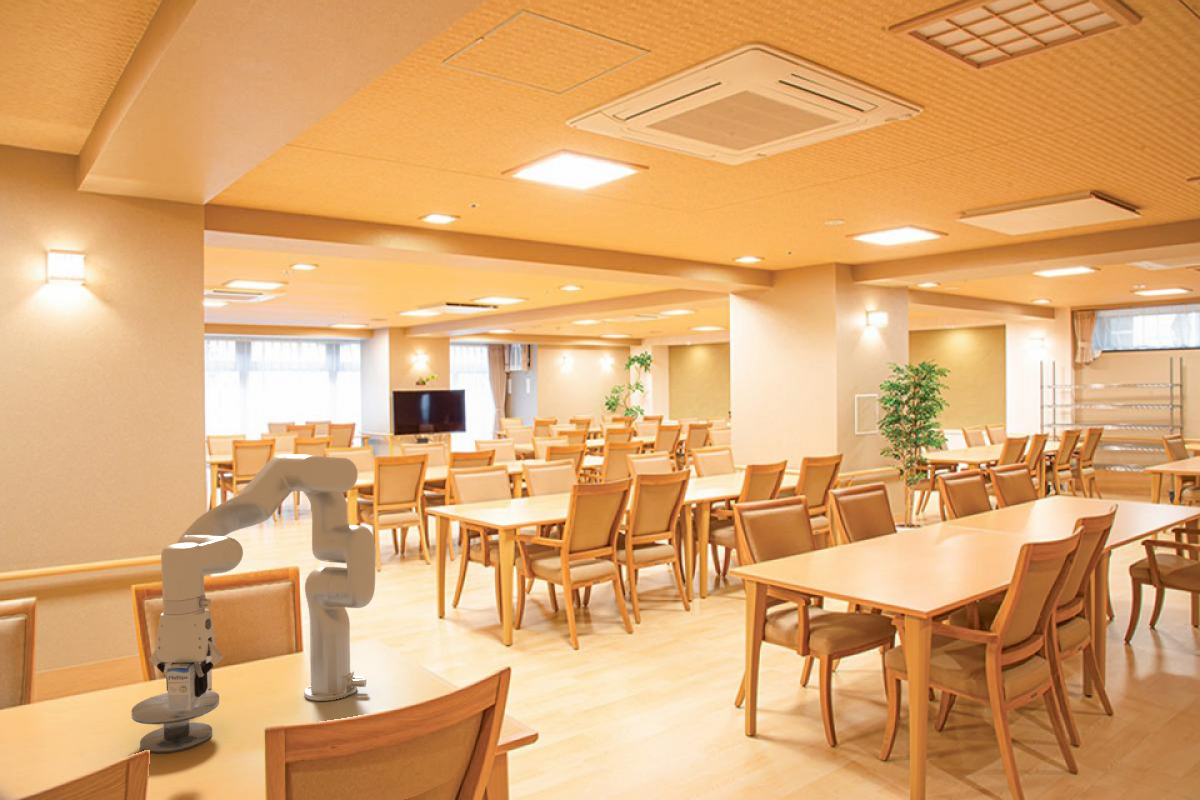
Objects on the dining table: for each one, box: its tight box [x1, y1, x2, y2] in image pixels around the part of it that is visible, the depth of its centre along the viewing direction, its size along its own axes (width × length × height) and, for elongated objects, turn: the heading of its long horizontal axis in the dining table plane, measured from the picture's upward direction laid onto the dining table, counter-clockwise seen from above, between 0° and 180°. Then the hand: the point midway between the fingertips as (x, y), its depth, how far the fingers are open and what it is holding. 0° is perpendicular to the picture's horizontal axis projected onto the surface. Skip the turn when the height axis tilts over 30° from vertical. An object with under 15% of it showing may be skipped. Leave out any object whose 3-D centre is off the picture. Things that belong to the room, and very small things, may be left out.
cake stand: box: [131, 689, 220, 755], centre depth 178 cm, size 17×17×8 cm
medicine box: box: [166, 663, 206, 711], centre depth 165 cm, size 8×4×9 cm, turn 5°
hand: (187, 693), depth 165 cm, fingers closed on medicine box, 4 cm apart
